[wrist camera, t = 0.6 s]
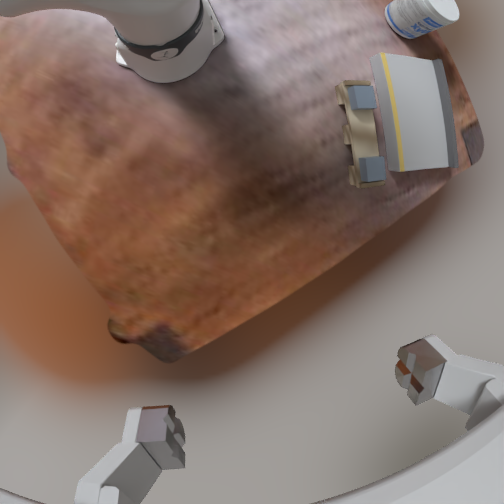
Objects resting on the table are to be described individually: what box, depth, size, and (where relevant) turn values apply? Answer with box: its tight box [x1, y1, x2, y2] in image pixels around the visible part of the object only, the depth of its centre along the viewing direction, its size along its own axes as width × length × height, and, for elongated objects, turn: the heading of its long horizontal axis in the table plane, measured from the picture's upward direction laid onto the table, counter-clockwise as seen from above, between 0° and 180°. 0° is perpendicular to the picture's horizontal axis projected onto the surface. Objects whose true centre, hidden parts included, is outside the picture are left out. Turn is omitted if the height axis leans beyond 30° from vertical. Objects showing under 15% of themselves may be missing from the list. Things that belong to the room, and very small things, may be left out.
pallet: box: [335, 80, 385, 189], centre depth 47 cm, size 19×5×4 cm, turn 10°
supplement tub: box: [385, 0, 459, 39], centre depth 35 cm, size 10×10×15 cm
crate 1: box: [347, 86, 377, 110], centre depth 42 cm, size 4×4×2 cm
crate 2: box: [359, 156, 386, 182], centre depth 46 cm, size 4×4×2 cm
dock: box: [370, 53, 458, 172], centre depth 46 cm, size 23×15×6 cm, turn 10°
